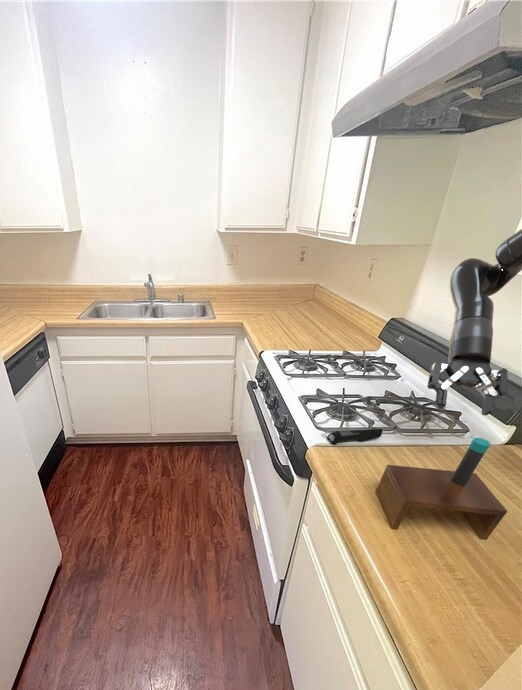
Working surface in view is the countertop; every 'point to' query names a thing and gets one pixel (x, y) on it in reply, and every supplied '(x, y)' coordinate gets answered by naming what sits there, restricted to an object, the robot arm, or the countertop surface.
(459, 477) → the marker
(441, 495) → the shelf
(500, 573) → the countertop surface
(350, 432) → the electric trimmer
